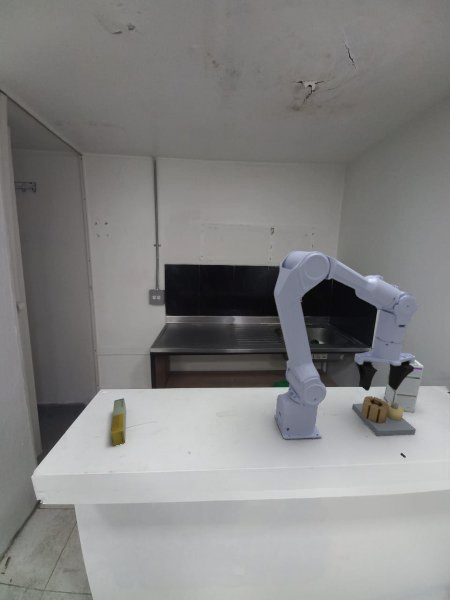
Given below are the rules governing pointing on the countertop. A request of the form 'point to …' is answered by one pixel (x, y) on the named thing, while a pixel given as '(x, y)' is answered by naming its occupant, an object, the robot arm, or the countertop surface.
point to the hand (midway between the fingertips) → (378, 387)
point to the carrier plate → (388, 421)
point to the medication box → (119, 422)
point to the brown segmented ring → (375, 409)
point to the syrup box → (406, 389)
